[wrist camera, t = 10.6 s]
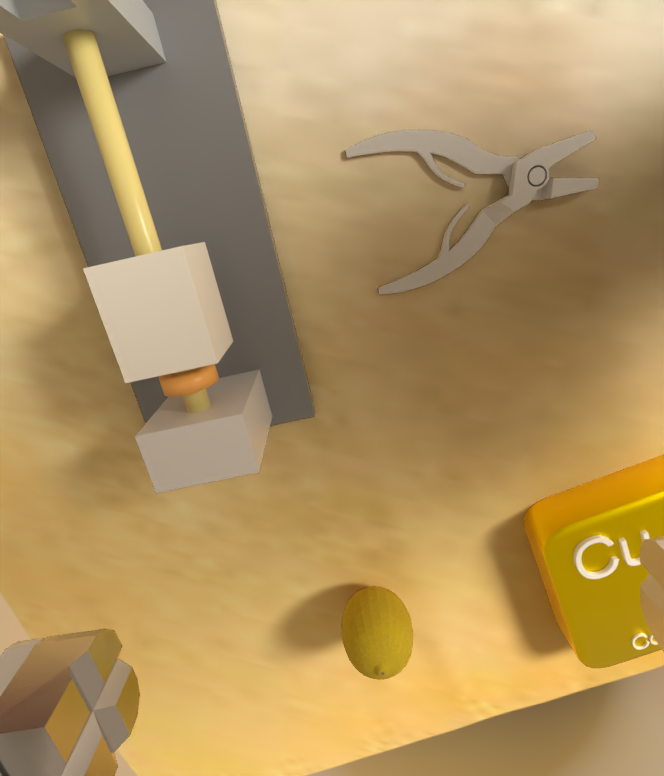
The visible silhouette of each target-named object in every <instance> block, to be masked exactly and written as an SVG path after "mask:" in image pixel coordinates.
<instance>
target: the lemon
mask: <svg viewBox="0 0 664 776" xmlns="http://www.w3.org/2000/svg"><path fill="white" fill-rule="evenodd" d="M341 628H342V640H343V644H344V647H345V650H346V653H347V655H348V657H349V660H350V661H351V663H352V664H353V666H354V667H355V668H356V669H357V670H358V671H359V672H360V673H362V674H363V675H365V676H367V677H370V678H373V679H387V678H390V677H393V676H395V675H396V674H398V673H399V672H400V671H401V670H402V669H403V668H404V667H405V666H406V664H407V662H408V660H409V658H410V656H411V652H412V645H413V629H412V623H411V619H410V615H409V613H408V611H407V609H406V607H405V605H404V603H403V602H402V601H401V599H400V598H399V597H398V596H397V595H396V594H394V593H393V592H391V591H390V590H388V589H385V588H382V587H375V586H374V587H367V588H364V589H362V590H360V591H358V592H357V593H355V594H354V595H353V596H352V597H351V598H350V600H349V601H348V603H347V605H346V607H345V609H344V613H343V617H342V624H341Z"/></svg>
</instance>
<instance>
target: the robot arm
mask: <svg viewBox="0 0 664 776" xmlns="http://www.w3.org/2000/svg"><path fill="white" fill-rule="evenodd" d="M640 563H641V564H642V565H643V566H644V568H645V569H646V570H647V571H648V572H649V573H650V574H649V575H648V577H647V578H646V579H645V580H644V582H643V583H642V584H641V586H640V603H641V608H642V611H643V614H644V617H645V620H646V624H647V626H648V628H649V629H650V631H651V633H652V635H653V637H654V639H655V640H656V642H657V643H658V645H659V646H660V647H661V649H662V650H663V651H664V536H662V537H656V538H650V539H644V541H643V543H642V545H641V547H640ZM121 648H122V644H121V643H120V641H119V639H118V637H117V635H116V633H115V631H114V630H109V629H99V630H92V631H85V632H78V633H71V634H63V635H56V636H49V637H46V638H40V639H33V640H25V641H18V642H16V643H14V644H13V645H11V646H10V647H8V648H6V649H5V651H4V652H3V653H2V655H1V656H0V776H115V773H116V770H117V768H118V765H117V761H116V757H115V753H114V752H115V751H116V750H117V749H118V748H119V747H120V745H121V744H122V743H123V742H124V741H125V740H126V739H127V738H128V737H129V736H130V734H131V732H132V729H133V726H134V723H135V721H136V718H137V714H138V705H139V696H140V693H139V686H138V680H137V677H136V675H135V673H134V670H133V668H132V667H131V666H130V665H128V664H127V663H125V662H123V661H122V660H120V659H119V658H118V657H119V654H120V651H121Z"/></svg>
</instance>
